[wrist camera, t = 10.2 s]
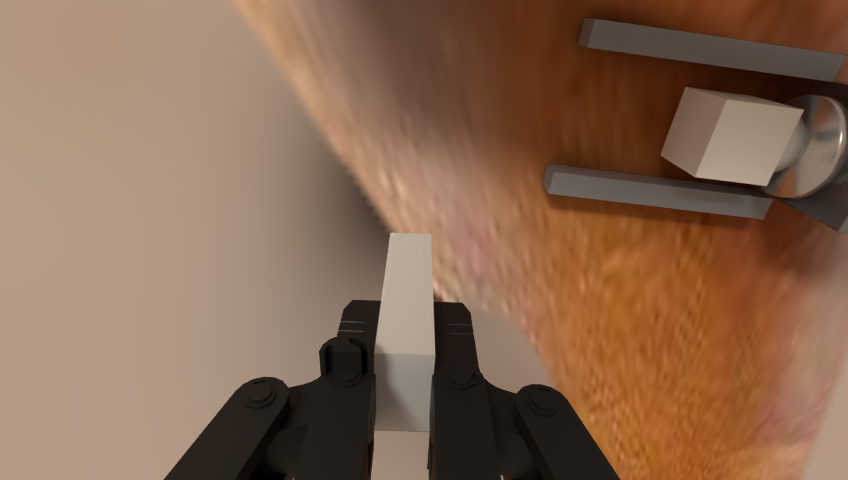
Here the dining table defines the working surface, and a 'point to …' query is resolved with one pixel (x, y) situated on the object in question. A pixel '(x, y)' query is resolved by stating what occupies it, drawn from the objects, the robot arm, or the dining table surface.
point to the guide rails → (696, 51)
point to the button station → (819, 158)
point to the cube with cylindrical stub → (733, 136)
